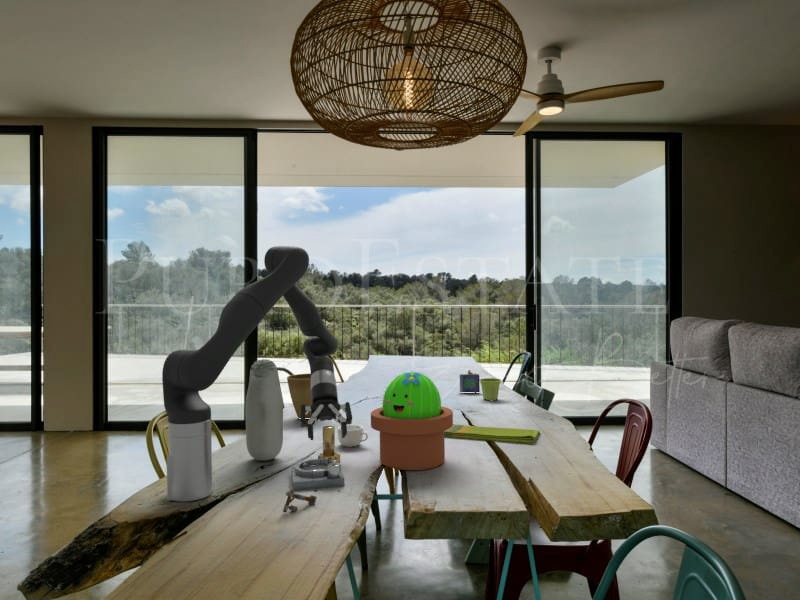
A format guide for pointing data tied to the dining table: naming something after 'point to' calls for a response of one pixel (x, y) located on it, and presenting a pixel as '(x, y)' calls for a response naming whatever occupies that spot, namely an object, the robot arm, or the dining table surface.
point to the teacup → (352, 435)
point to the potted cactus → (412, 423)
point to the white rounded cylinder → (264, 411)
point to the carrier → (317, 474)
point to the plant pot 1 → (300, 392)
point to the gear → (329, 444)
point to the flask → (469, 382)
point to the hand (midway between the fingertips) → (328, 437)
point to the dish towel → (492, 434)
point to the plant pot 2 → (490, 388)
